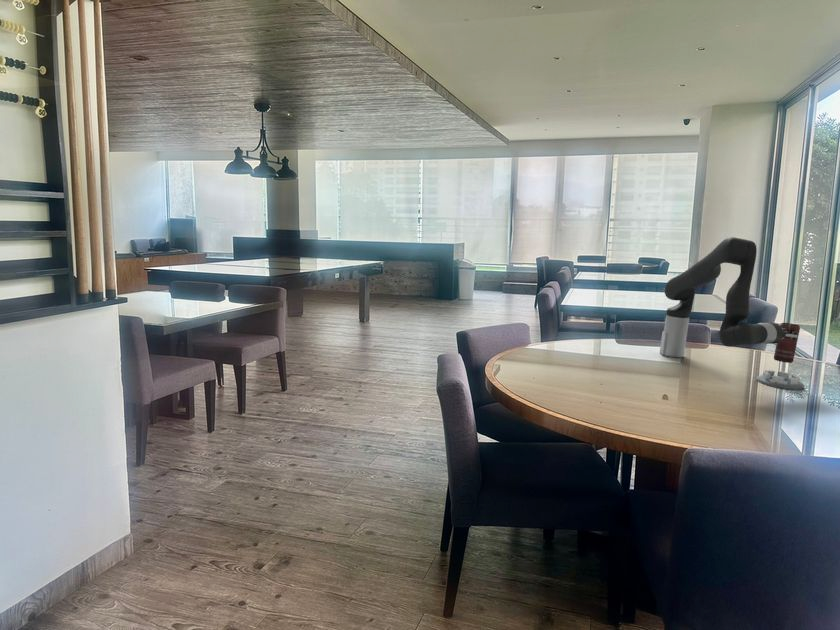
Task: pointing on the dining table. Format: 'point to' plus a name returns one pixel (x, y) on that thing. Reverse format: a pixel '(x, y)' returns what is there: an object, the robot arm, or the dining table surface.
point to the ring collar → (780, 378)
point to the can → (786, 345)
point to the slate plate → (784, 386)
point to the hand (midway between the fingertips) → (793, 331)
